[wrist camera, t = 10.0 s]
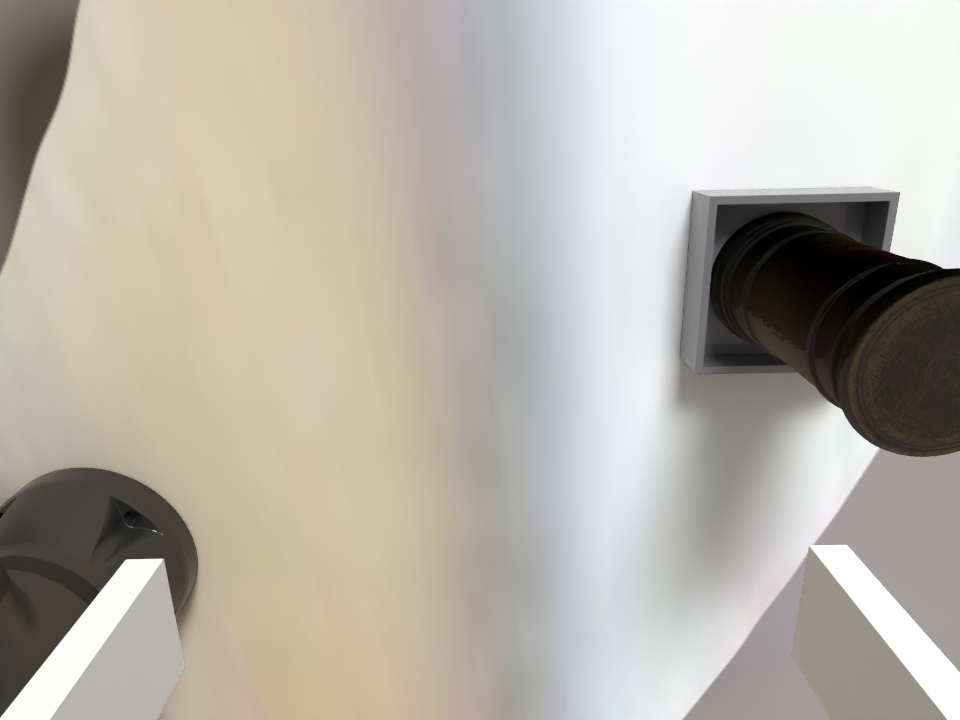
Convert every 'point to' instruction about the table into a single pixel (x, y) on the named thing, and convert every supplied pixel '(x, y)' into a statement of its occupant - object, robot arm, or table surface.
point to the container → (850, 326)
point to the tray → (725, 213)
